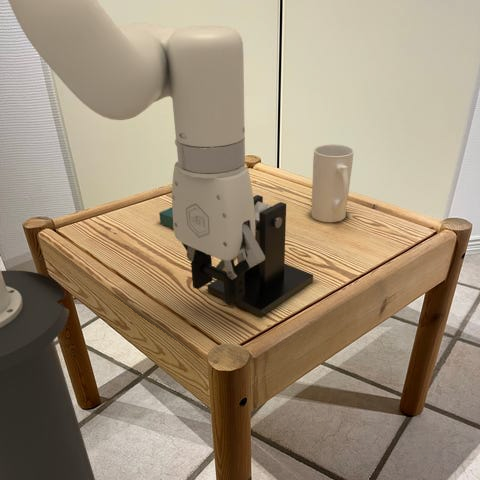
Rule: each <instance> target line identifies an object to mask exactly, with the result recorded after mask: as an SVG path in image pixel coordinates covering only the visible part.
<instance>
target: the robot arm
mask: <svg viewBox="0 0 480 480" xmlns="http://www.w3.org/2000/svg"><path fill="white" fill-rule="evenodd" d="M7 1H8V4H9V5H10V7H11V10H12V13H13V14H14V17H15V18H16V20H17V23H18V24H19V27H20V29H21V30H22V32H23V33H24V36H26V38H27V40H28V41H29V43H30V44H31V45H32V47H33V49H35V51H36V52H37V54H38V55H39V56H40V57H41V59H42V60H43V61H44V62H45V63H46V64H47V66H49V68H50V69H51V70H52V71H53V73H54V74H55V75H56V76H57V77H58V78H59V79H60V81H61V82H62V83H63V84H64V85H65V86H66V87H67V89H68V90H69V91H70V92H71V93H72V94H73V95H74V96H75V97H76V98H77V99H78V100H79V101H80V102H81V103H82V104H83V105H85V106H86V107H87V108H88V109H90V110H91V111H93V112H94V113H95V114H97V115H99V116H101V117H103V118H106V119H109V120H112V121H126V120H131V119H133V118H135V117H137V116H139V115H140V114H142V113H143V112H145V111H146V110H147V109H148V108H149V107H151V106H152V105H153V104H154V103H157V102H158V101H160V100H162V99H164V98H168V97H169V98H171V101H172V109H173V110H172V111H173V121H174V134H175V141H174V144H175V146H176V152H177V153H176V154H177V161H176V162H174V166H173V172H172V173H173V174H172V187H171V200H172V201H171V206H172V210H173V225H172V228H173V233H174V236H175V238H176V240H177V241H178V242H180V243H181V245H182V247H184V249H185V251H186V258H187V260H188V261H190V269H191V280H192V281H191V282H192V288H193V289H195V290H199V289H201V288H202V287H204V286H206V285H209V284H210V283H212V282H213V281H214V280H213V279H214V278H212V277H210V276H207V275H205V274H203V273H201V271H200V269H201V266H202V264H204V263H208V264H210V265H212V266H213V261H212V260H213V259H212V257H214V258H216V259H218V260H220V261H221V260H224V264H225V268H226V271H227V276H226V277H224V294H225V300H224V302H225V304H226V305H228V306H231V305H233V304H232V303H234V302H236V301H237V300H239V299H240V298H242V297H243V296H244V295H245V272H246V271H248V270H249V269H250V268H252V267H253V266H255V265H257V264H259V263H260V262H262V261H264V260H265V255H264V254H263V252H262V250H261V248H260V246H259V245H258V243H257V241H256V239H255V210H254V200H253V197H254V193H253V186H252V181H251V175H250V171H249V168H248V167H246V135H245V134H246V131H245V129H246V127H245V81H244V80H245V69H244V68H245V66H244V64H245V63H244V59H245V57H244V42H243V38H242V36H241V34H240V33H239V32H238V30H236V29H235V28H232V27H229V26H223V25H193V26H187V27H186V26H185V27H173V26H166V25H161V24H160V25H159V24H152V23H146V22H133V23H132V22H131V23H128V24H124V25H122V26H118V25H117V24H116V23H115V21H114V20H113V19H112V18H111V17H110V15H109V14H108V13H107V12H106V10H105V9H104V7H103V6H102V5H101V4H100V2H99V1H98V0H7ZM172 228H171V229H172ZM245 251H246V253H247V256H248V257H246V253H245ZM235 257H237V259H236V260H237V264H236V263H235V261H234V260H233V258H235ZM235 264H236V265H235ZM1 271H2V270H1V269H0V328H2V327H3V326H5V325H7V324H8V323H10V322H11V321H12V320H13V319H15V318H16V317H17V315H18V314H19V313H20V311H21V310H22V307H23V300H22V297H21V295H20V293H19V292H18V291H17V290H15V289H13V288H11V287H8V286H6V285H5V282H4V279H3V276H2V273H1Z"/></svg>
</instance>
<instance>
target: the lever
mask: <svg viewBox="0 0 480 480" xmlns="http://www.w3.org/2000/svg"><path fill="white" fill-rule="evenodd" d="M271 206H272V205H271V204H269V203H265V202H263V203H262V202H259V201H258V202H257V203H256V205H255V206H254V210H255V233H256V232H257V231H258V230H259V213H260V212H261V211H263V210H265V209H267V208H269V207H271ZM233 260H234V262H236V260H237V257H235V258H233ZM200 271H201V273H203V274H205V275H207V276H210V277H212V278H213V279H214V280H215V281H216V280H218V281H221V282H223V283H224V277H226V276H227V271H226V268H225V264H224V260H221V259H220V261H219V263H218V264H217V265H216V266H214V265H213V264H212V265H210V264H208V263H204V264H202V266H201V269H200Z"/></svg>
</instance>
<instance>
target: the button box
mask: <svg viewBox="0 0 480 480" xmlns="http://www.w3.org/2000/svg"><path fill="white" fill-rule="evenodd" d="M158 214H159V223H160V224H161V225H163V226H165V227H168V228H170V229H173V228H172V225H173V210H172V207H169V208H167V209H164V210H161V211H160V212H159V213H158Z"/></svg>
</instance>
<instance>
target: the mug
mask: <svg viewBox="0 0 480 480" xmlns="http://www.w3.org/2000/svg"><path fill="white" fill-rule="evenodd" d="M354 152H355V150H354V148H352V147H351V146H348V145H344V144H333V143H329V144H327V143H326V144H321V145H318V146H316V147H315V148H314V149H313V158H312V159H313V160H312V163H313V164H312V181H311V183H312V185H311V211H310V214H311V217H312V218H313V219H314V220H316V221H318V222H322V223H337V222H341V221H343V220H344V219H345V218H346V215H347V207H348V201H349V193H350V184H351V176H352V169H353V161H354Z"/></svg>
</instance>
